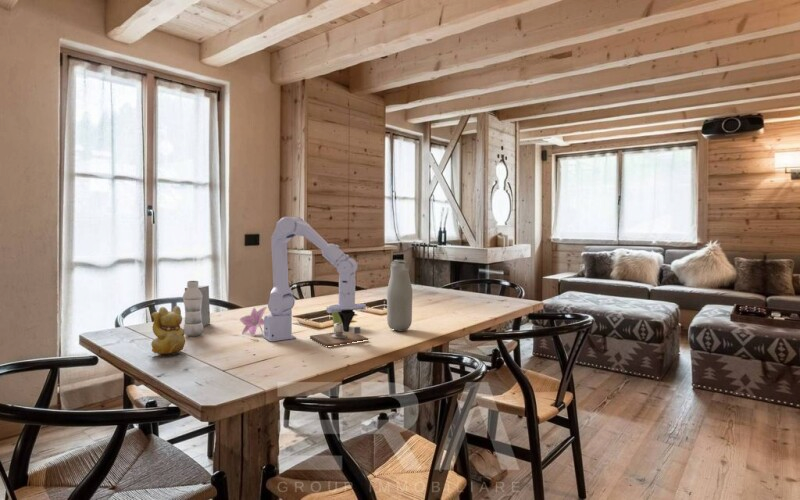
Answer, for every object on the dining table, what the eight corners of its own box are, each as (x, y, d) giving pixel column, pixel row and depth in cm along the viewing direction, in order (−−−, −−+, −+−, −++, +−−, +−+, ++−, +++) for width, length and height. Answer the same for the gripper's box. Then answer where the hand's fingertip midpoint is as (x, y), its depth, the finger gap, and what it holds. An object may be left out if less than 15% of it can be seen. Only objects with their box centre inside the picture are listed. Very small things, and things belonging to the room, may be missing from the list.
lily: (239, 333, 179) (231, 313, 174) (268, 318, 184) (260, 299, 179) (250, 349, 170) (241, 329, 165) (279, 333, 175) (272, 314, 170)
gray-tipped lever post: (357, 334, 161) (357, 326, 161) (332, 331, 165) (332, 324, 165) (361, 332, 165) (361, 324, 164) (337, 329, 168) (337, 322, 168)
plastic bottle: (196, 338, 165) (195, 282, 164) (179, 337, 166) (178, 282, 165) (207, 334, 171) (206, 280, 170) (190, 333, 173) (190, 279, 171)
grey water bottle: (412, 328, 187) (413, 258, 185) (410, 334, 177) (411, 261, 175) (388, 327, 188) (389, 258, 186) (384, 333, 178) (385, 260, 176)
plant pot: (341, 331, 179) (341, 309, 179) (324, 328, 185) (324, 306, 184) (358, 327, 187) (358, 306, 186) (341, 324, 192) (341, 303, 192)
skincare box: (202, 328, 181) (201, 287, 180) (183, 327, 181) (183, 287, 180) (211, 323, 190) (210, 284, 189) (193, 322, 190) (193, 284, 189)
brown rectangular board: (327, 347, 156) (327, 339, 156) (310, 339, 167) (310, 330, 167) (368, 341, 165) (368, 333, 165) (349, 333, 176) (349, 325, 176)
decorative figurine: (179, 349, 152) (178, 303, 151) (191, 353, 147) (191, 306, 146) (148, 355, 144) (147, 307, 143) (159, 360, 139) (159, 311, 138)
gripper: (333, 296, 155) (332, 336, 156) (370, 293, 163) (369, 331, 164) (324, 293, 161) (323, 331, 161) (360, 290, 169) (359, 327, 170)
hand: (346, 331), depth 163 cm, fingers closed, pressing on gray-tipped lever post
